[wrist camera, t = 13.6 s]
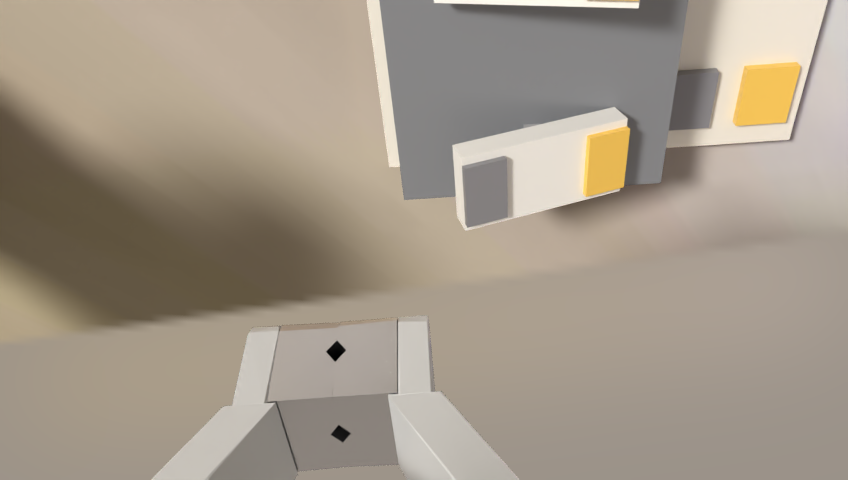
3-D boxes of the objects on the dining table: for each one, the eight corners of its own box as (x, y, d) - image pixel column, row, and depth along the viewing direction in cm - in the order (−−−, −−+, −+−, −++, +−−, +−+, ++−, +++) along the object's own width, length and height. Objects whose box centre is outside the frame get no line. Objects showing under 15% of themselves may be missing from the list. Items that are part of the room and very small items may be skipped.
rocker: (457, 216, 34) (467, 234, 33) (452, 144, 31) (463, 161, 30) (607, 178, 35) (622, 194, 34) (614, 106, 33) (631, 121, 32)
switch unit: (390, 157, 40) (385, 218, 36) (348, -157, 30) (334, -128, 26) (782, 130, 39) (828, 189, 35) (872, -207, 29) (953, -186, 25)
